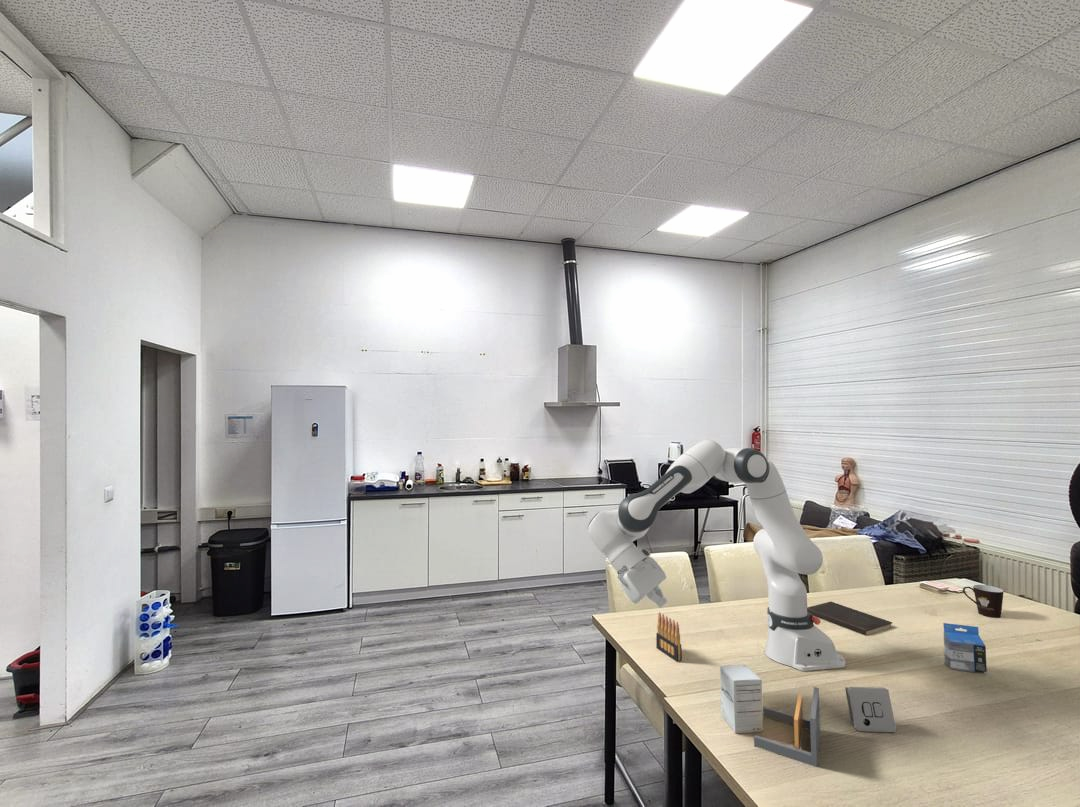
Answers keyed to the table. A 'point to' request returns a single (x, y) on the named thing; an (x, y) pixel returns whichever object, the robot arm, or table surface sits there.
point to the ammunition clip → (668, 638)
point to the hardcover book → (849, 618)
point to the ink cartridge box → (964, 649)
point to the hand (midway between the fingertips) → (664, 604)
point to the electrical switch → (870, 709)
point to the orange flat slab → (798, 722)
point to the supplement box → (741, 698)
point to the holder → (810, 724)
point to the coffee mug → (987, 600)
